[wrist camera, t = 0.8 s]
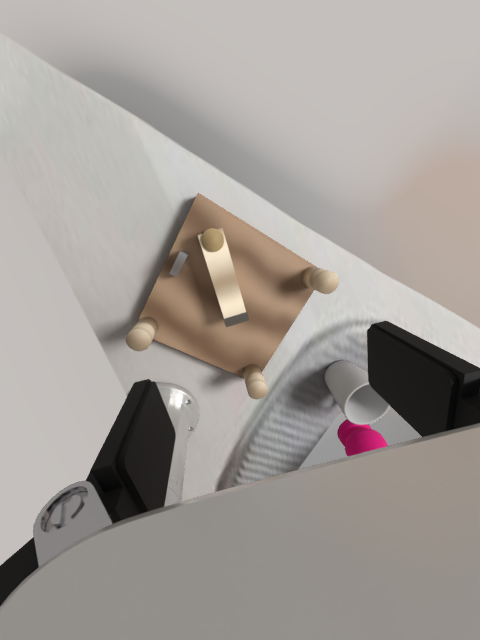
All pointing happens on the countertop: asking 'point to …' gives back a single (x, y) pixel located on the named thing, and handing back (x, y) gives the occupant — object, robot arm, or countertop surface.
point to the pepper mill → (359, 438)
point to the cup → (354, 393)
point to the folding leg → (223, 276)
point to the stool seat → (203, 306)
